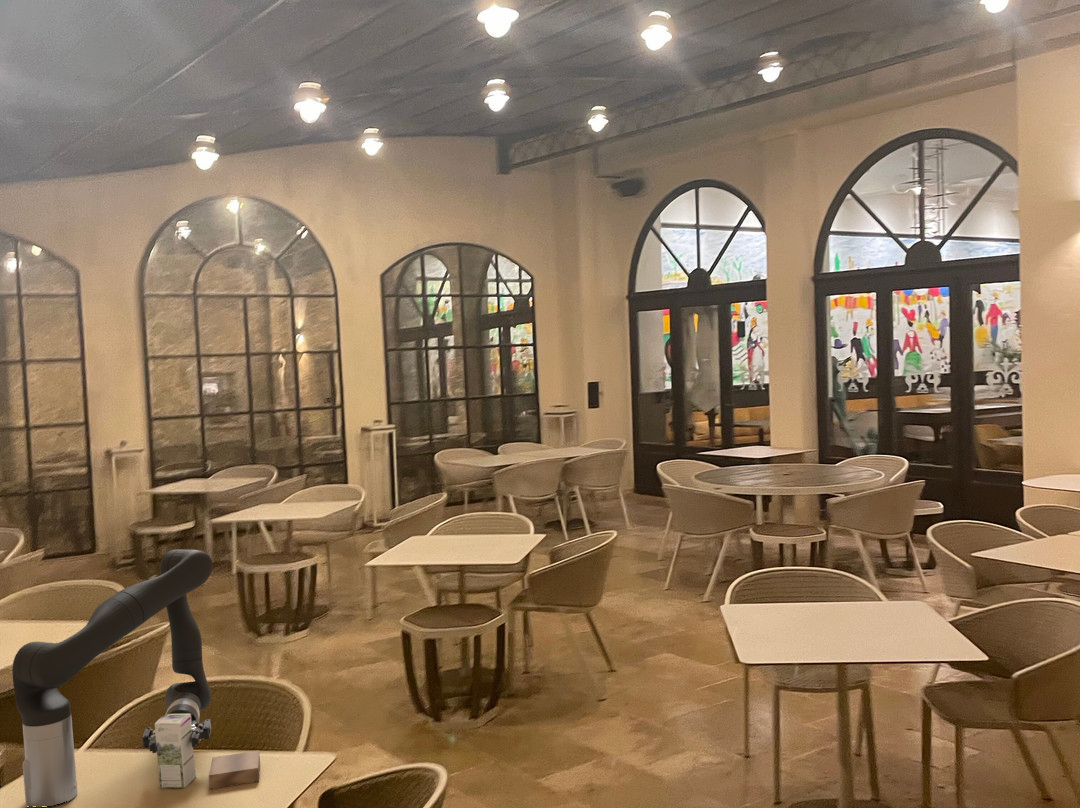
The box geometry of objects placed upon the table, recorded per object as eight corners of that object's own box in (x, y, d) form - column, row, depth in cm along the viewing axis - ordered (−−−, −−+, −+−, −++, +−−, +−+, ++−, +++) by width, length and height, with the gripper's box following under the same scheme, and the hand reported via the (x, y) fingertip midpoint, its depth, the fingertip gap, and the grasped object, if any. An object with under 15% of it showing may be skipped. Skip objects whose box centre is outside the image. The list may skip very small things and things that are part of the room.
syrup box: (196, 777, 212) (191, 711, 211) (184, 789, 206) (179, 722, 205) (171, 777, 212) (166, 712, 212) (158, 789, 206) (153, 722, 206)
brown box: (209, 789, 205) (208, 775, 205) (213, 770, 215) (212, 757, 215) (259, 781, 208) (258, 767, 208) (260, 763, 217) (259, 750, 217)
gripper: (147, 707, 221) (136, 733, 205) (213, 698, 224) (207, 723, 208) (149, 740, 221) (139, 768, 205) (215, 730, 225) (210, 757, 209)
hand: (173, 745), depth 207 cm, fingers open, 7 cm apart
